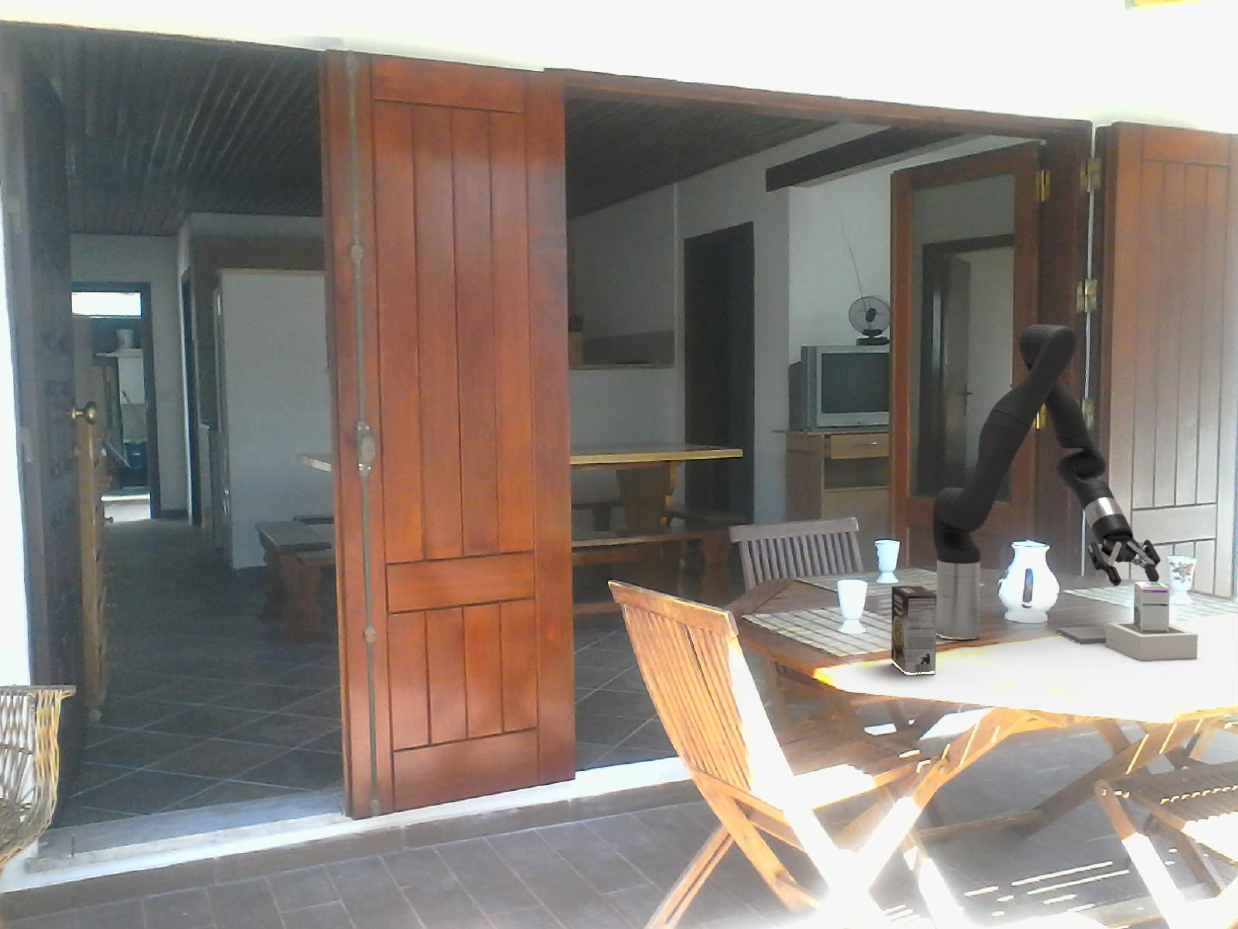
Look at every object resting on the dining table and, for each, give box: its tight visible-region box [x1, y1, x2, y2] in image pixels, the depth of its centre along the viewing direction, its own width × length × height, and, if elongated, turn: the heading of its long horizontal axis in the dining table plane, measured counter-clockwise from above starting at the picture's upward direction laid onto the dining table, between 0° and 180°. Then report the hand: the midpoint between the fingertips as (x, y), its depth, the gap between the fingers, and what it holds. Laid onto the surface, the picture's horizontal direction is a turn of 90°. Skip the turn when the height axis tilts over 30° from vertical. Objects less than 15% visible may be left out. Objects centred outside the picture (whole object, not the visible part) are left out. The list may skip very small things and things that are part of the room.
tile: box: [1056, 625, 1106, 645], centre depth 241 cm, size 10×10×1 cm
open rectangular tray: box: [1105, 621, 1199, 662], centre depth 228 cm, size 12×12×5 cm
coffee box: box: [890, 585, 937, 673], centre depth 217 cm, size 9×6×16 cm
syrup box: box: [1133, 581, 1170, 635], centre depth 228 cm, size 6×6×14 cm
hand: (1136, 583), depth 233 cm, fingers open, 8 cm apart
